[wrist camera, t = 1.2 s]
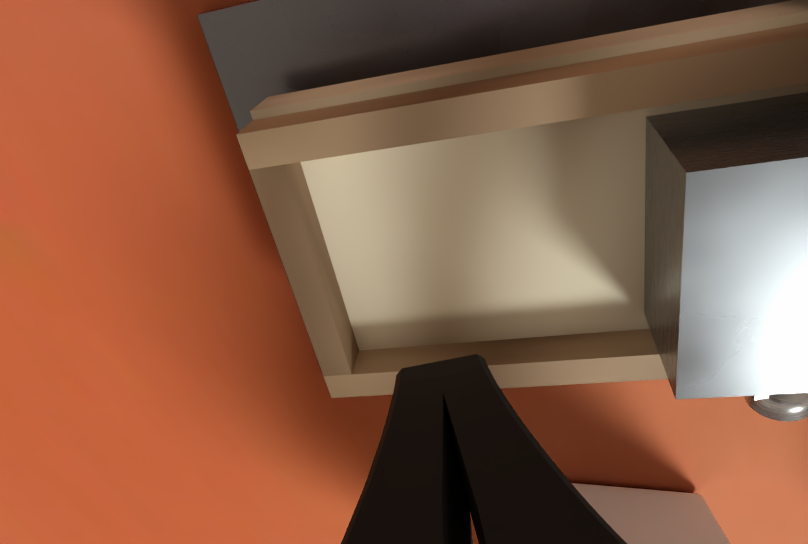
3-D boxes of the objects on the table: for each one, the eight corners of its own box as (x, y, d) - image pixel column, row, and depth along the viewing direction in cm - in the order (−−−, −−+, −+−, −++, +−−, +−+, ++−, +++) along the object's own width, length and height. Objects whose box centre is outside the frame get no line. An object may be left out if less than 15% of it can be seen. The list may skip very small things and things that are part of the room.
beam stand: (1324, -268, 13) (1866, -387, 8) (1095, 232, 19) (1326, 326, 14) (197, 0, 14) (114, 29, 10) (332, 379, 21) (320, 505, 16)
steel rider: (900, 77, 11) (1023, 128, 8) (850, 296, 13) (932, 386, 11) (645, 116, 12) (686, 172, 9) (644, 313, 14) (675, 399, 12)
